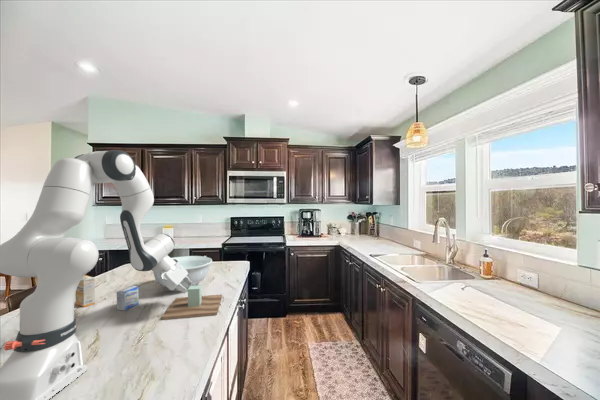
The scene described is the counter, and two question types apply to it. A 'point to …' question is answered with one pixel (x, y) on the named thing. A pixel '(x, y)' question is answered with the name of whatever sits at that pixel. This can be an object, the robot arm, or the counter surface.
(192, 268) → the bowl
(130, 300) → the medicine box
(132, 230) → the robot arm
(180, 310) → the walnut board
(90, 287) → the supplement box
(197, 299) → the green block
